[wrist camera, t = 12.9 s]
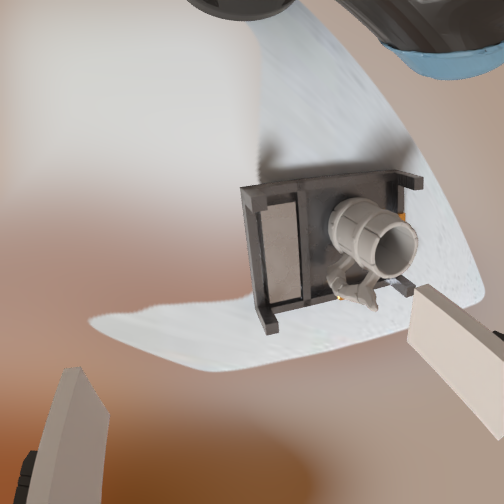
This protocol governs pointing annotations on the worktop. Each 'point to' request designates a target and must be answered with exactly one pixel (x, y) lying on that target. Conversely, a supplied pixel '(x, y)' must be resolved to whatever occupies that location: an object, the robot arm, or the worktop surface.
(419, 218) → the worktop surface
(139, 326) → the worktop surface
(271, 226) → the tray
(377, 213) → the mug
